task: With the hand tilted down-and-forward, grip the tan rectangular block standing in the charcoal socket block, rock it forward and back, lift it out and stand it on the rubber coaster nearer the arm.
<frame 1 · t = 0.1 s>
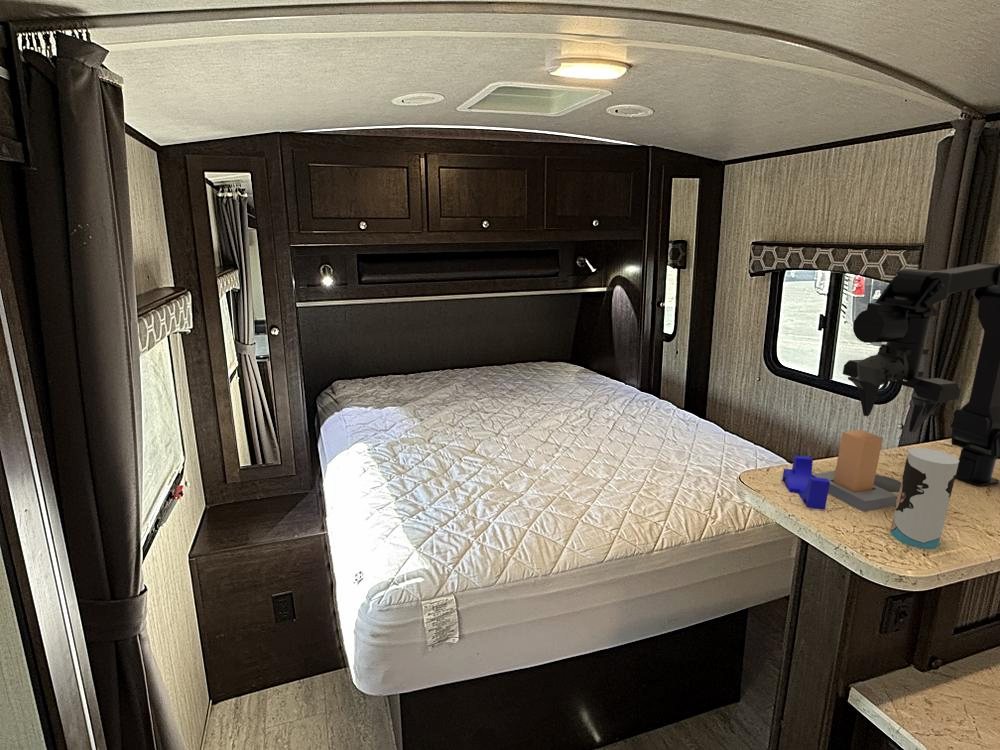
hand: (888, 423, 113), 15 cm above the countertop, tool pointing down, fingers open, 9 cm apart
cup: (913, 541, 101), on the countertop
socket block: (850, 496, 116), on the countertop
tan rectangular block: (850, 494, 116), resting on socket block
coaster: (882, 485, 122), on the countertop
cable clip: (801, 497, 116), on the countertop
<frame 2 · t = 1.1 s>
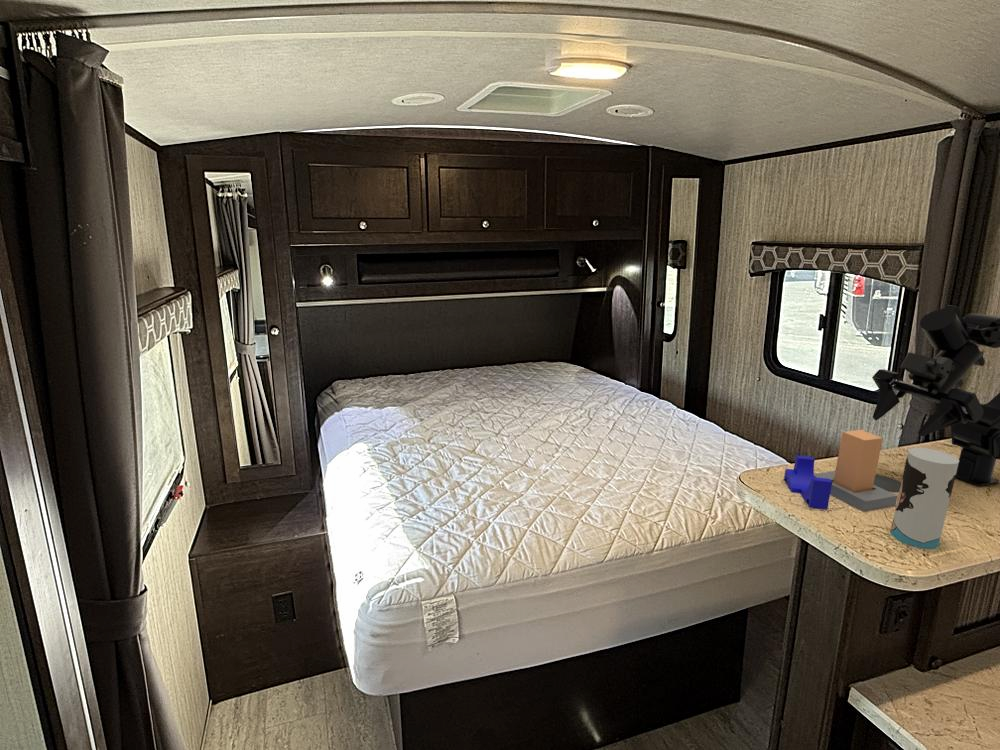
hand: (896, 426, 116), 13 cm above the countertop, tool tilted 45°, fingers open, 9 cm apart
cable clip: (803, 498, 116), on the countertop, touching socket block
everything else where it was.
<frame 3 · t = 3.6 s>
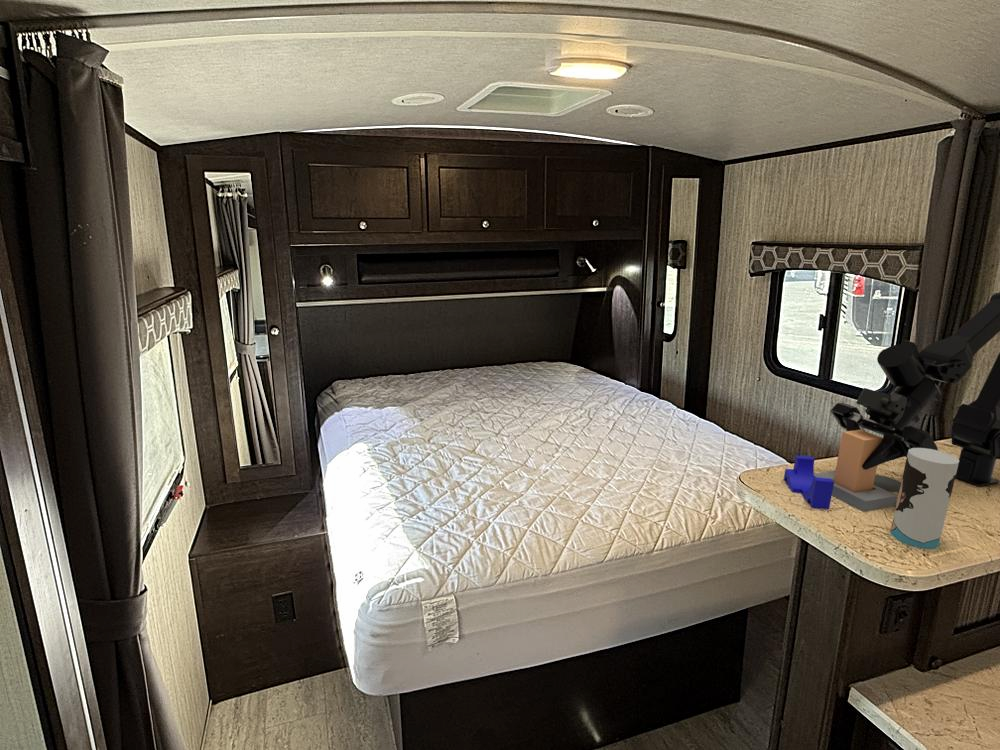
hand: (851, 462, 114), 7 cm above the countertop, tool tilted 45°, fingers closed on tan rectangular block, 5 cm apart
tan rectangular block: (850, 494, 116), resting on socket block, touching gripper
everything else where it was.
when the fingers open (8 cm above the countertop, at t = 8.5 s): tan rectangular block drops 1 cm, resting on coaster.
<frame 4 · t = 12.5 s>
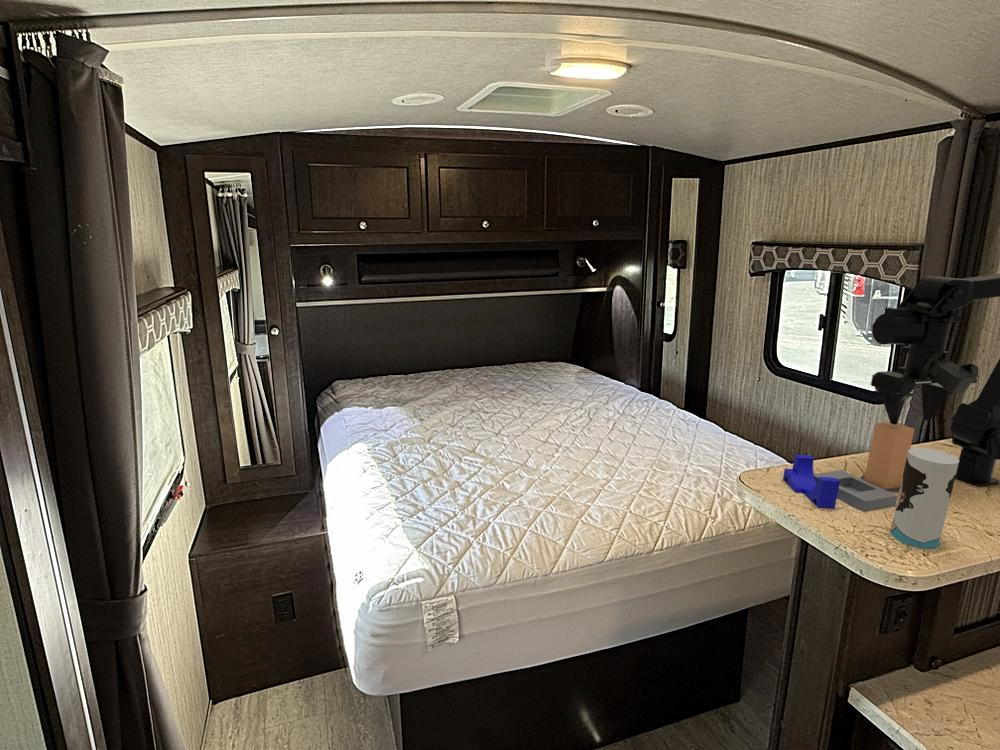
hand: (910, 422, 120), 13 cm above the countertop, tool pointing down, fingers open, 9 cm apart
tan rectangular block: (882, 483, 121), point 1 cm above the countertop, touching coaster
cable clip: (806, 497, 116), on the countertop
everything else where it was.
at the end: tan rectangular block inside the target area on the coaster (0.2 cm from its centre), point 0.6 cm above the coaster's base; tan rectangular block tilted 0°; the gripper is holding nothing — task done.
